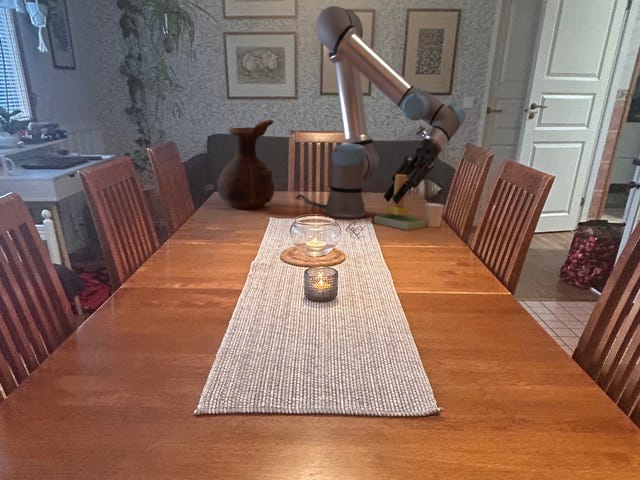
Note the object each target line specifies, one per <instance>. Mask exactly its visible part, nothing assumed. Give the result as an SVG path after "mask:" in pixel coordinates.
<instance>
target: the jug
mask: <svg viewBox="0 0 640 480" xmlns="http://www.w3.org/2000/svg"><path fill="white" fill-rule="evenodd" d="M273 124H274V120H272V119H267V120H262V121H260V122H258V123H256V124H255V125H254V126H252V127H251V126H250V127H249V126H248V127H232V128H229V129H228V133H229V134H230V135H232V136H234V137H235V143H236V144H235V146H236V148H235V155H234V157H233V158H232V159H231V160H230V161H229V162H228V163H227V165H226V166H225V167H224V168H223V170H221V171H222V172H221V173H220V175H219V178H218V180H217V184H216V187H217V192H218V195H219V197H220V199H221V200H223V202H224V203H225V204H226V205H227V206H228V207H229V208H232V209H234V208H235V209H241V210H254V209H258V208H261V207H263V206H264V205H266V204H268V203H270V202H271V201H272V199H273V197H274V194H275V190H276V189H275V183H274V179H273V178H272V174H273V171H272V170H269V169H268V167H267V165H266V164H265V163H264V162H263V161H262V160H261V159H259V158H258V156H257V153H256V144H257V141H258V138H260V137H263V136H264V135H265V134H266V131H267V130H268V128H269V127H270V126H272V125H273Z"/></svg>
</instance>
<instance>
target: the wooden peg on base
mask: <svg viewBox="0 0 640 480" xmlns="http://www.w3.org/2000/svg"><path fill="white" fill-rule="evenodd" d="M407 180H408V177H407V175H403V174H396V175H395V184H394V194H393V197H394V195H395V194H396V193H397V191H398V190H399V189H400V187H401V186H402V185H403V183H405V184H406V182H405V181H407ZM405 196H406V194H405V195H404V196H403V197H402V199H401V200H400V201H399V202H398V204H396V203H395V202H394V200H393V199H392V204H387V205H386V211H385V213H386V214H394V215H404V216H407V215H409V209H410V206H408V205H405V199H406V197H405ZM393 197H392V198H393Z"/></svg>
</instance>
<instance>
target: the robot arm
mask: <svg viewBox="0 0 640 480" xmlns="http://www.w3.org/2000/svg"><path fill="white" fill-rule="evenodd" d="M362 23H363V22H362V20H361V19H360V17H359V16H358V15H357V14H356V13H355V12H354V11H353V10H352V9H348V8H343V7H340V6H337V5H331V6H328V7H326V8H324V9H323V10H322V11H321V12H320V14H319V15H318V18H317V20H316V26H315V27H316V28H315V29H316V31H315V32H316V36H317V38H318V40H319V42H320V43H321V44H322V45H323V46H324V47H325V48H327V52H328V59H329V61H330V62H331V63H333V65H334V71H335V78H336V87H337V92H338V100H339V107H340V114H341V115H340V116H341V122H342V129H343V135H344V139H343V141H342V143H341V144H338V145H336V146H334V147H333V149H332V155H331V172H330V173H331V174H330V191H329V195H328V198H327V202H326V204H322V203H319V202H318V203H317V202H314V201H311V200H310V199H309V198H307V197H306V196H305V195H303V194H301V193H300V194H298V195H297V196H296V199H299V198H301V199H303V200H304V201H306V202H307V203H308V204H309V205H312V206H315V207H319V208H324V209H323V210H324V211H323V214H324V216H326V217H328V216H329V218H334V219H341V220H342V219H343V220H355V219H356V220H357V219H358V220H359V219H363V218H365V217H366V208H365V207H366V204H365V202H364V198H363V187H364V186H363V185H364V181H366V180H368V179H370V178H371V177H372V176H373V175H374V174H375V173H376V171H377V169H378V167H379V155H378V153H377V151H376V149H374V141H373V140H374V139H373V137H371V136H370V134H369V133H368V126H367V117H366V110H365V102H364V94H363V93H364V92H363V86H362V79H361V78H362V77H361V75H363V77H365V78H366V79H367V80H368V81H369V82H370V83H371V84H372V85H374V87H376V88H377V89H378V90H379V91H380V92H381V93H382V94H384V96H386V97H387V98H388V99H389V100H391V102H393V103H394V104H395V105H396V106H397V107H398V108H399V109H400V110H401V111H402V113H403V115H404V116H405V118H406V119H408V120H410V121H413V122H415V121H420V120H422V121H423V122H425V123H427V125H429V126H430V127H431V128H430V130H429V131H427V133H426V134H425V136H424V137H423V139H422V140H421V141H420V143H419V144H418V145H417V146H416V152H415V153H413V155H411V157H408V156H405V157H404V158H403V161H402V163H401V164H400V165H399V167H398V168H397V170H396V171H395V173H394V174H393V175H392V176H391V181H392V183H391V184H390V186H389V187H388V189H387V191H386V192H385V193H384V194H383V198H384V199H385V201H386V202H387V203H389V202H390V201H391V199H392V201H393V200H394V202H395V203H396V204H398V202H399V201H400V200H401V199H402V197H403V196H404V195H405V196H406V194H407V193H408V192H409V190H411V189H413V188H414V189H416V188H417V187H418V186H419V185H420V183H421V182H422V181H423V180H424V178H425V177H426V176H427V175H428V174H429V172H430V171H431V170H433V169H434V168H435V165H434V163H433V162H435V160H436V159H437V157H438V156H440V153H441V152H442V151H443V149H444V148H445V147H446V145H447V144H448V143H449V142H450V140H451V139H452V138H453V137H454V136H455V134H456V133H457V131H459V130H460V127H461V126H462V124H463V123H464V121H465V120H466V116H467V115H466V111H465V109H464V107H463V106H462V105H460V104H459V103H456V102H451V103H450V104H449V105H446V104H444V103H442V102H441V101H440V100H438V99H437V98H436V97H435V96H433V95H432V94H431V93H430V92H429V91H427V90H425V89H424V88H422V87H418V88H417V87H415V86H414V85H413V84H412V83H411V82H410V81H409V80H408V79H407V78H406V77H405V76H403V75H402V73H400V72H399V71H398V70H397V69H395V67H394V66H393V65H392V64H390V63H389V62H388V61H387V60H386V59H385V58H384V57H383V56H381V54H380V53H378V52H377V51H376V50H375V49H374V48H373V47H372V46H371V45H369V44H368V43H367V41H366V40H364V39H363V36H364V27H363V24H362ZM396 174H403V175H407V180H406V181H405V182H406V184H405V183H403V185H402V186H401V187H400V189H399V190H398V191H397V193H396V194H395V195H394V197H393V194H394V184H395V175H396Z"/></svg>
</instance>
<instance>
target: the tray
mask: <svg viewBox="0 0 640 480" xmlns="http://www.w3.org/2000/svg"><path fill="white" fill-rule="evenodd" d="M373 223H374V224H378V225H382V226H386V227H391V228H395V229H400V230H403V231H411V230H417V229H423V228H426V227H427V226H426V220H424V218H419V217H414V216H407V215H394V214H390V213H386V214H385V213H384V214H379V215H378V214H377V215H374V217H373Z"/></svg>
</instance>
